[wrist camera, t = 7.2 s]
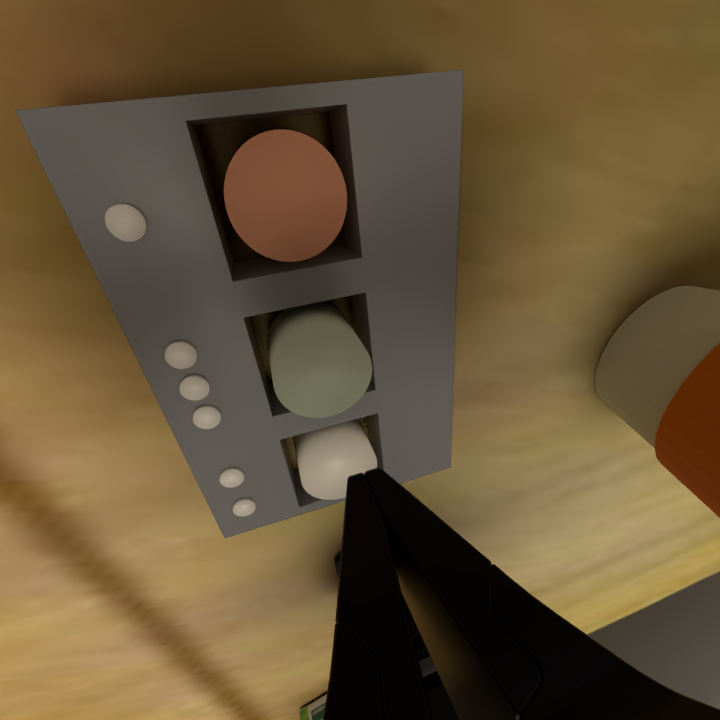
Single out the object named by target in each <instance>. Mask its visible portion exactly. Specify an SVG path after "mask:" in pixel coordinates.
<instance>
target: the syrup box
mask: <svg viewBox="0 0 720 720" xmlns="http://www.w3.org/2000/svg"><path fill="white" fill-rule="evenodd" d="M326 696H327V694H326V695H324V696H322V697H321V698H319V699H317V700H316V701H314V702H312V703H311V704H309V705H307V706H305V707H303V708H302V709H301V711H300V719H301V720H323V715H324V709H325V702H326Z"/></svg>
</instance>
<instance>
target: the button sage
mask: <svg viewBox="0 0 720 720" xmlns="http://www.w3.org/2000/svg"><path fill="white" fill-rule="evenodd" d="M267 347H268V354H269V360H270V367H271V373H272V380H273V386H274V390H275V393H276V396H277V397H278V399H279V401H280V402H281V403H282V404H283V405H284V406H285V407H286V408H287V409H288V410H290V411H291V412H293V413H295V414H298V415H300V416H304V417H309V418H324V417H329V416H333V415H336V414H339V413H341V412H343V411H345V410H347V409H349V408H350V407H351V406H353V405H354V404H355V403H356V402H357V401H358V400H359V399H360V398H361V397H362V396H363V394H364V393H365V392H366V390H367V388H368V386H369V383H370V380H371V376H372V363H371V359H370V356H369V354H368V352H367V350H366V349H365V347H364V345H363V344H362V342H361V341H360V339H359V338H358V336H357V335H356V333H355V332H354V330H353V329H352V327H351V326H350V324H349V322H348V321H347V319H346V318H345V317H344V315H343V314H342V313H341V312H340V311H339V310H338V309H336V308H335V307H333V306H331V305H329V304H326V303H323V302H317V303H312V304H307V305H302V306H297V307H292V308H287V309H285V310H284V311H283V312H281V313H280V314H279V315H278V316H277V317H276V319H275V320H274V321H273V323H272V325H271V327H270V329H269V332H268V337H267Z"/></svg>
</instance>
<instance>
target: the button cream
mask: <svg viewBox="0 0 720 720" xmlns="http://www.w3.org/2000/svg"><path fill="white" fill-rule="evenodd" d="M293 442H294V447H295V452H296V457H297V462H298V468H299V473H300V478H301V483H302V486H303V488H304V489H305V491H306V492H307V493H309V494H310V495H312V496H313V497H316V498H319V499H324V500H335V499H341V498H345V497H346V489H347V479H348V477H349V476H351V475H355V474H358V473H365V472H366V471H368V470H371V469H374V468H377V458H376V455H375V453H374V451H373V449H372V446H371V444H370V442H369V440H368V438H367V435H366V433H365V431H364V429H363V427H362V424H361V422H360V420H359V418H358V419H355V420H351V421H347V422H344V423H340V424H336V425H333V426H329V427H325V428H322V429H318V430H314V431H311V432H307V433H303V434H300V435H296V436H293Z"/></svg>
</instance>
